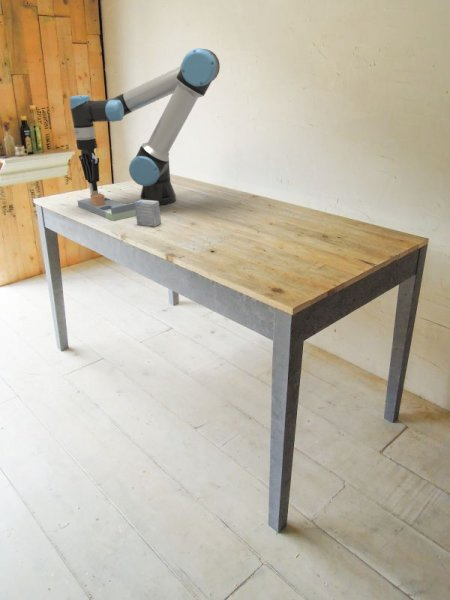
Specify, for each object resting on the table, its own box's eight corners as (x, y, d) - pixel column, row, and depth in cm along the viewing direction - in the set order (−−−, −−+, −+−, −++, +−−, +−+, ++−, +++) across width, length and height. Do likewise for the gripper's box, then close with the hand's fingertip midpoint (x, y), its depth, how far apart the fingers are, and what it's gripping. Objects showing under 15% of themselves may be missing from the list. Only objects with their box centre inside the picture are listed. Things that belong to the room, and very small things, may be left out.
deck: (78, 206, 212) (76, 194, 210) (101, 201, 218) (100, 190, 216) (113, 221, 191) (112, 208, 189) (138, 215, 197) (137, 202, 195)
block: (91, 204, 204) (90, 194, 202) (100, 202, 206) (99, 193, 204) (96, 206, 201) (95, 196, 199) (105, 204, 203) (104, 195, 202)
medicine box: (161, 223, 186) (159, 200, 182) (155, 227, 183) (152, 203, 179) (143, 221, 189) (141, 199, 186) (136, 225, 186) (134, 202, 182)
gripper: (69, 138, 197) (79, 197, 207) (84, 141, 188) (94, 202, 198) (86, 135, 201) (95, 194, 211) (102, 138, 192) (111, 199, 202)
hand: (95, 198), depth 205 cm, fingers closed
